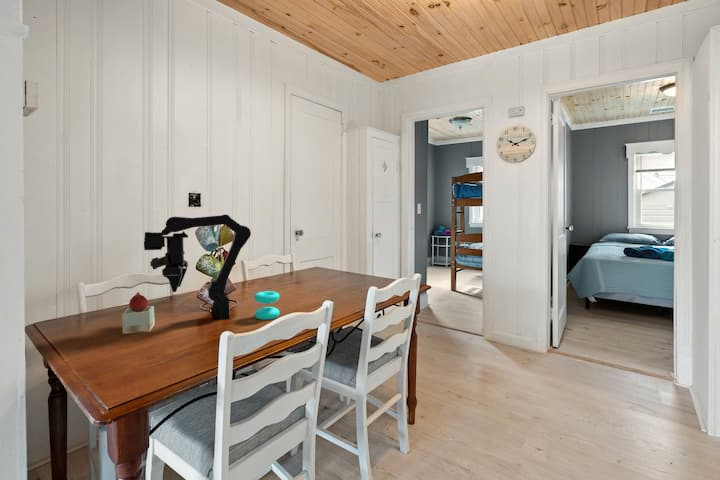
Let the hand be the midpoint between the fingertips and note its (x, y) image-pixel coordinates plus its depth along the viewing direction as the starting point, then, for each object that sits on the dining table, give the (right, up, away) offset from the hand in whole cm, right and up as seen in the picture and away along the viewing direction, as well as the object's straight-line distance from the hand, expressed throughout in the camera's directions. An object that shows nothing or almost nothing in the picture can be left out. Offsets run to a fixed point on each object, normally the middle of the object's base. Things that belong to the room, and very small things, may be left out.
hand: (176, 289), depth 145 cm
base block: (-10, -14, -7) cm, 19 cm away
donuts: (+33, -13, +9) cm, 37 cm away
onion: (-10, -8, -7) cm, 15 cm away
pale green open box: (-10, -11, -7) cm, 17 cm away
